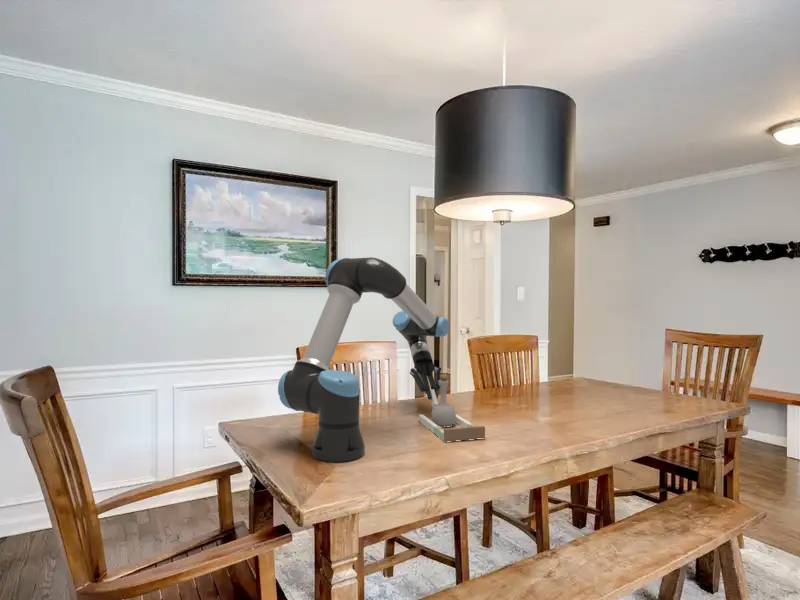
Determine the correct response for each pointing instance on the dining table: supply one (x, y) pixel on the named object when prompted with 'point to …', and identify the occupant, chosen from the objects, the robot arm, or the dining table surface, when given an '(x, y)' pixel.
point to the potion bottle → (443, 406)
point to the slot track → (455, 429)
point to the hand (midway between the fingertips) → (435, 406)
